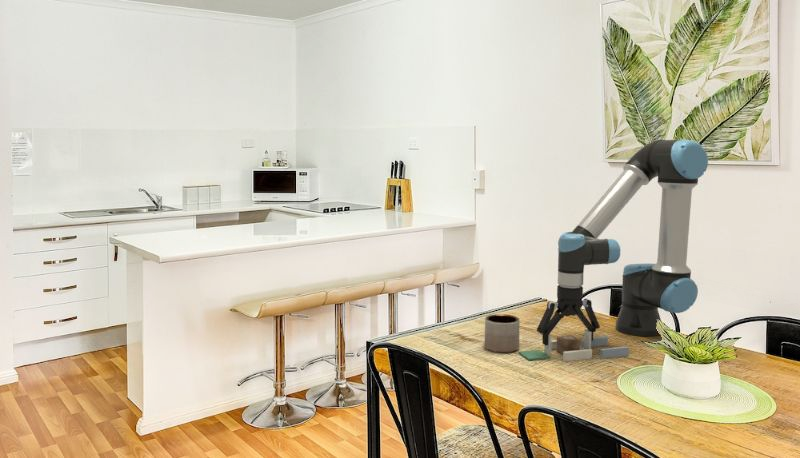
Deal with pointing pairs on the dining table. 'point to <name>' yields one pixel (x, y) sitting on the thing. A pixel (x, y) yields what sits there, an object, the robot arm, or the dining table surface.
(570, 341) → the letter cube
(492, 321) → the planter
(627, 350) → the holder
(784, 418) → the dining table surface
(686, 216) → the robot arm
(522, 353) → the pad
